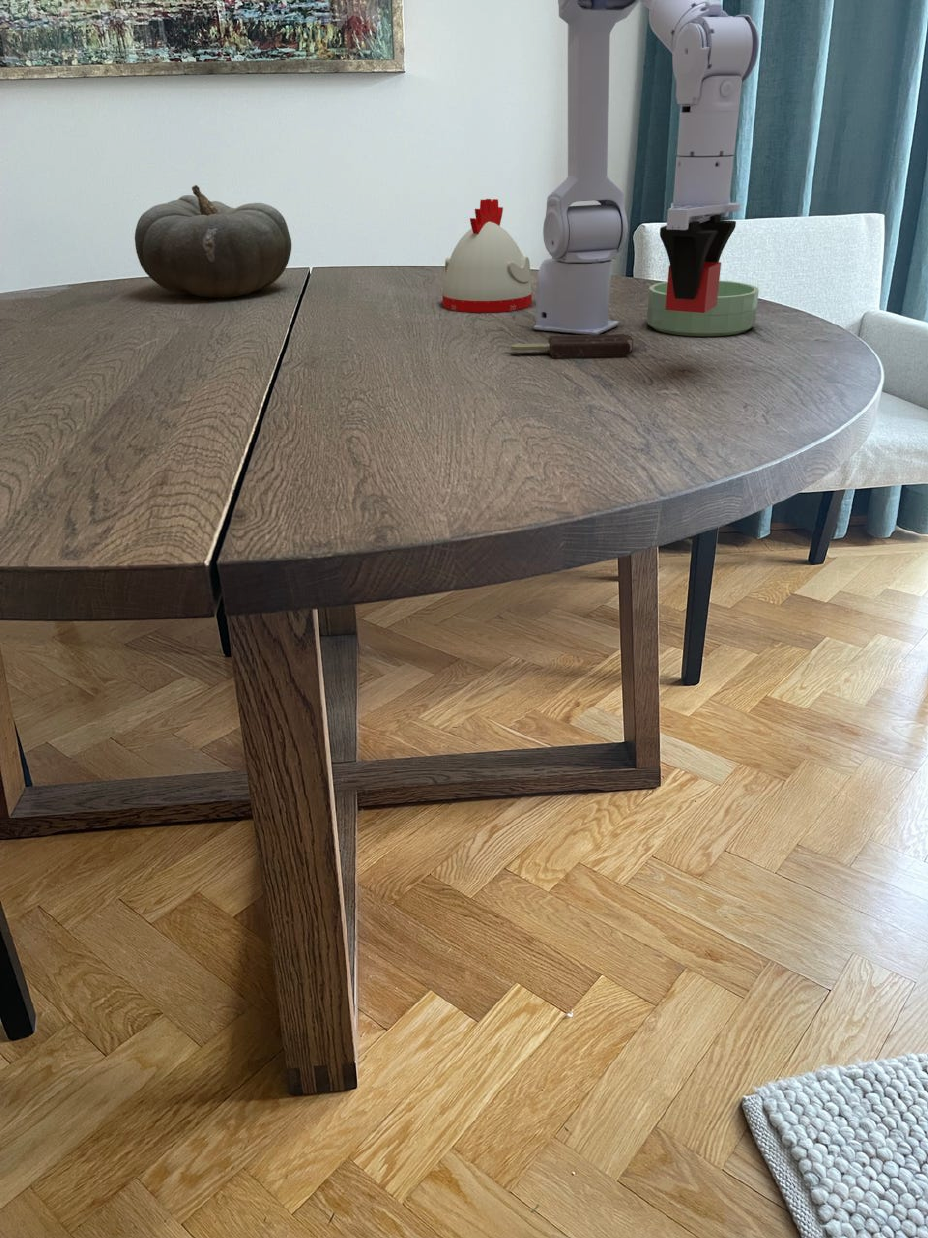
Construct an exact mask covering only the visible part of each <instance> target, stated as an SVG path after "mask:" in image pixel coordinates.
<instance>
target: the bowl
mask: <svg viewBox="0 0 928 1238" xmlns="http://www.w3.org/2000/svg"><path fill="white" fill-rule="evenodd" d="M667 282H668V281H663V282H658V283H654V284H652V285H650V286H649V288H648V299H647V300H648V301H647V315H646V324H647V325H649V326H650V327H652V328H653V330H656V331H659V332H661V333H665V334H669V335H677V336H687V337H724V336H732V335H738V334H741V333H744V332H746V331H748V330H749V329H752V328H753V327H754V326H755V324H756V317H757V308H758V300H759V294H760V293H759V292H760V291H759V288H758V287H757V286H755V285H752V284H749V283H745V282H738V281H731V280H730V281H729V280H719V289H718V299H717V306H716V307H714V308H712V309H711V310H709V311H707V312H705V313H696V312H684V311H672V310H665V307H666V294H667Z"/></svg>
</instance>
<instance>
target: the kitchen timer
mask: <svg viewBox="0 0 928 1238" xmlns="http://www.w3.org/2000/svg"><path fill="white" fill-rule="evenodd" d="M479 201H480V202H479V208H474V215H475V217H474V218H473V217H469V222H470V227H471V228H470V229H468V230H467V231H466V232H465V233H464V234H463V236H462V237H461V238H460V240H458V242H457V244H456V245H455V247H454V249H453V251H452V253H451V255H450V257H446V258H445V261H444V271H445V275H444V279H443V284H442V292H441V294H442V295H441V296H442V299H441V300H442V306H443V308H444V309H447V310H449V311H455V312H463V313H479V314H480V313H481V314H483V313H504V312H512V311H519V310H523V309H527V308H528V307H531V306H532V303H533V302H532V301H533V296H532V295H533V291H532V289H533V288H532V281H531V278H530V277H531V264H530V259H529V257H528V256H524V255H523V253H522V251H521V249H520V246H519V245H518V244H517V242H516V240H515V239H514V238H513V237H512V236H511V234H510V233H509V232H508V231H507V230H505V229H504V228H503V227H502V226H501V223H502V217H503V211H504V207H503V206H499V199H497V198H485V199H480V200H479Z"/></svg>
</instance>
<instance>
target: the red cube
mask: <svg viewBox="0 0 928 1238" xmlns="http://www.w3.org/2000/svg"><path fill="white" fill-rule="evenodd" d="M721 269H722V262H721V261H719V262H704V265H703V269H702V274H701V279H700V283H699V287H698V291H697V294H696V296H695V299H679V298H675V296H674V290H673V283H672V275H671V268H670V264H669V265H668V269H667V270H668V272H667V281H666V282H667V294H666V307H665V310H672V311H684V312H696V313H705V312H707V311H709V310H711V309H712V308H714V307H716V306H717V299H718V289H719V281H721Z"/></svg>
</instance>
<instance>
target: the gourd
mask: <svg viewBox="0 0 928 1238" xmlns="http://www.w3.org/2000/svg"><path fill="white" fill-rule="evenodd" d="M191 190H192V194H186V195H181V196H180V197H179V198H178V199H173V200H171V201H168V202H164V203H159V204H155V205H153V206H151V207H150V208H148V209H147V210H146V211H144V212H143V213H142V215H141V216H140V217H139V219H138V221H137V224H136V227H135V233H134V245H135V252H136V255H137V258H138V262H139V264H140V266H141V268H142V270H143V271H144V273H145V274H146V275H147V276H148V277H149V278H150V279H151V280H152V281H153V282H155V283H156V284H157V285H158V286H159V287H161V288H163V289H164V290H166V291H169V292H171V293H176V294H178V295H192V294H193V295H195V296H197V297H200V298H221V299H227V298H232V297H240V296H241V297H242V296H246V295H247V294H250V293H253V292H256V291H260V290H261V291H262V290H264V289H266V288H268V287H270V286H271V285H272V284H274V283H275V282H276V281H277V280H278V279H279V278H280V277H281V276H282V275H283V273H284V271H286V269H287V267H288V264H289V262H290V259H291V253H292V238H291V234H290V231H289V226H288V223H287V221H286V219H285V217H284V216H283V214H282V213H281V212H280V210H278V209H277V208H275V207H274V206H271V205H269V204H267V203H263V202H251V203H245V204H242V205H239V206H237V207H232V206H230V205H227V204H225V203H224V202H221V201H218V200H212V201H211V200H209V199H208V197H207V196H205V195H204V194H203V193H202V191H201V189H200V187H199V186H198V185H197V184H194V185H193V186H192V187H191Z"/></svg>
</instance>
